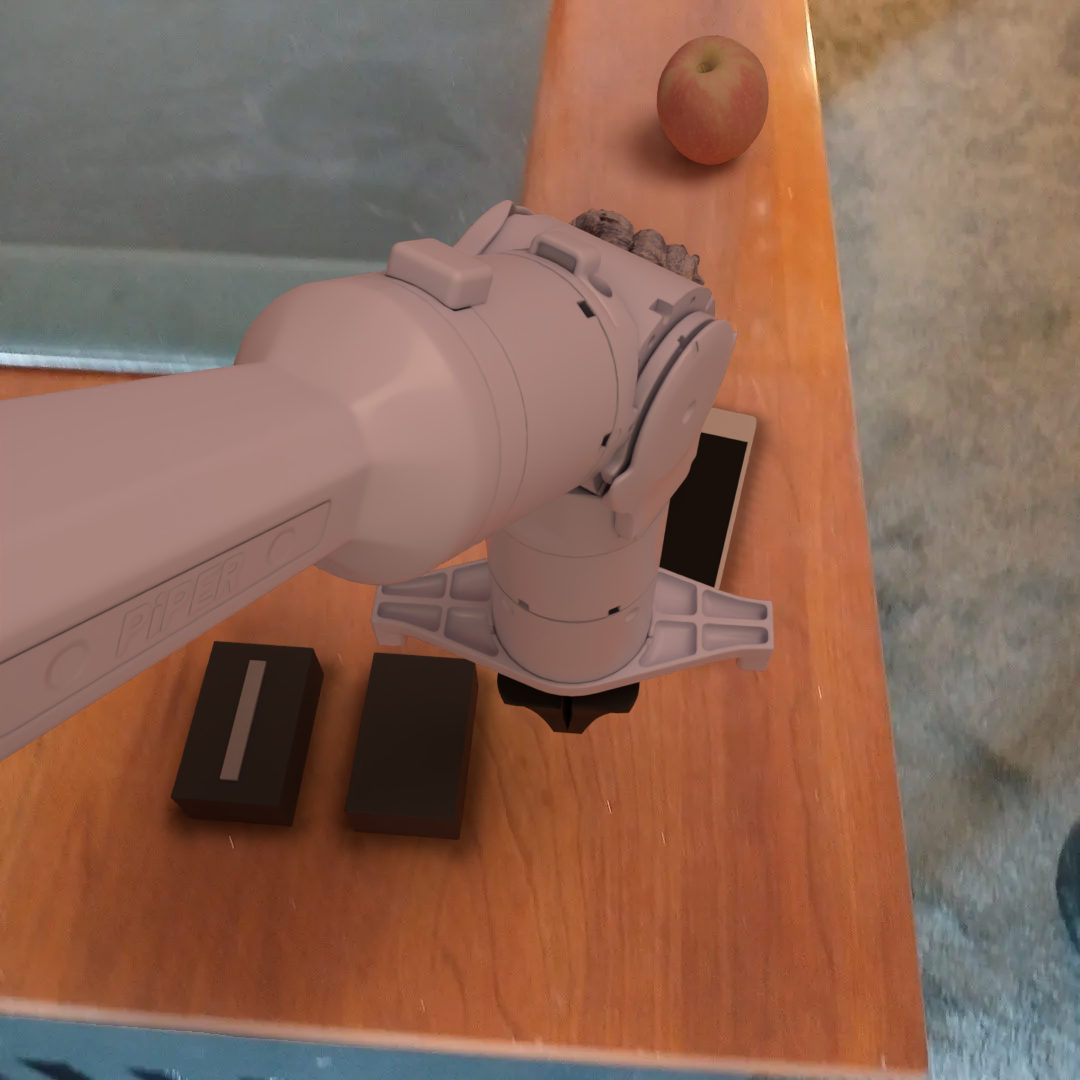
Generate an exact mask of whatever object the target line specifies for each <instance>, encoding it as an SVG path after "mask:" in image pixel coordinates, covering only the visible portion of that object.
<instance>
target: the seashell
mask: <svg viewBox="0 0 1080 1080" xmlns="http://www.w3.org/2000/svg"><path fill="white" fill-rule="evenodd" d="M568 224H570V225H572V226H575V227H576V228H579V229H581V230H583V231H585V232H587V233H589V234H592V235H594V236H596V237H598V238H600V239H602V240H605V241H607V242H609V243H611V244H613V245H615V246H618V247H620V248H622V249H624V250H626V251H628V252H631V253H633V254H635V255H637V256H639V257H641V258H644V259H646V260H648V261H650V262H652V263H654V264H657V265H659V266H661V267H663V268H665V269H667V270H670V271H672V272H674V273H676V274H678V275H680V276H683V277H685V278H687V279H689V280H691V281H693V282H696V283H698V284H700V285H702V286H705V283H706V281H705V280H704V279H703V278H702V276H701V275H700V274H699V272H698V271H699V270H698V269H699V268H698V267H699V265H700V261H701V260H700V259H701V258H700V256H699V255H698V254H693V255H689V252H688V250H687V248H686V246H685V244H678V243H669V244H667V243H666V241H665V237H664V236H663V235H662V234H661V233H660V232H658V231H656V229H653V228H648V229H639V230H638V231H637V232H634V230H635V228H634V225H633V224H632V222H631V221H630V220H629V219H628V218H627V217H626V216H625V215H622V214H621V213H619V212H616V211H614V210H605V209H603V208H601V209H595V208H590V209H588V210H587V211H586V212H582V213H581V214H579V215H578V216H576V217H575V218H574V219H572V220H571V221H569V223H568Z"/></svg>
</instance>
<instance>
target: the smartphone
mask: <svg viewBox="0 0 1080 1080" xmlns="http://www.w3.org/2000/svg"><path fill="white" fill-rule="evenodd" d="M756 428H757V418H756V416H753V415H749V414H745V413H740V412H736V411H731V410H727V409H722V408H717V407H713V406H712V408H711V410H710V412H709V414H708V416H707V418H706V420H705V423H704V425H703V428H702V431H701V434H700V438H699V443H698V448H697V453H696V457H695V458H694V460H693V461H692V463H691V467H690V470H689V473H688V475H687V477H686V478H685V480H684V481H683V482H682V484H681V485H680V486H679V487H678V489H677V490H676V491H675V493H674V494H673V495H672V497H671V498H670V502H669V508H668V515H667V521H666V527H665V534H664V540H663V546H662V553H661V559H660V565H659V567H660V568H663V569H666V570H668V571H671V572H674V573H676V574H679V575H681V576H684V577H687V578H689V579H692V580H695V581H697V582H700V583H702V584H705V585H708V586H710V587H713V588H716V589H718V590H720V586H721V583H722V579H723V574H724V571H725V570H724V569H725V565H726V561H727V557H728V552H729V548H730V543H731V540H732V539H731V538H732V534H733V531H734V526H735V522H736V516H737V512H738V508H739V504H740V501H741V500H740V499H741V494H742V490H743V485H744V481H745V477H746V474H747V473H746V472H747V468H748V465H749V459H750V455H751V451H752V446H753V441H754V437H755V433H756V430H757V429H756Z"/></svg>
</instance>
